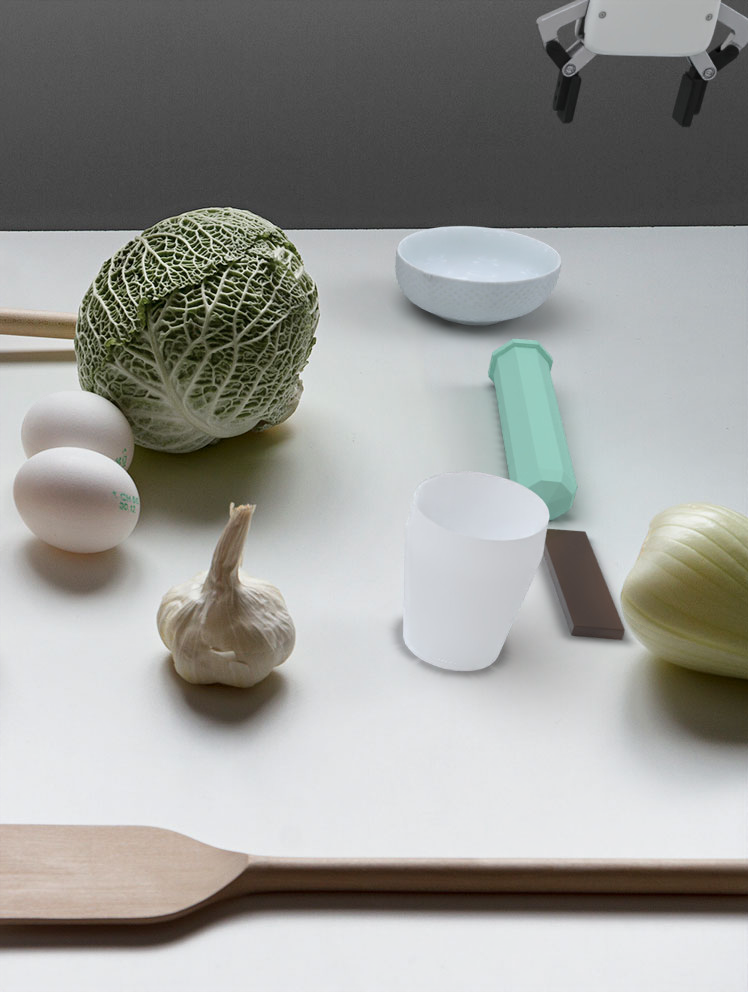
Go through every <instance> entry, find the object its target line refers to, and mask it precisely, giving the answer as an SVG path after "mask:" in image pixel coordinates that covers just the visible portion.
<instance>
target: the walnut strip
mask: <svg viewBox="0 0 748 992" xmlns="http://www.w3.org/2000/svg"><path fill="white" fill-rule="evenodd" d="M543 557H544V560H545V563H546V566H547V568H548V571H549V574H550V577H551V580H552V582H553V583H552V584H553V586H554V589H555V592H556V595H557V598H558V600H559V602H560V603H559V604H560V606H561V609H562V612H563V615H564V618H565V621H566V624H567V627H568V630H569V633H570V635H571V637H580V638H592V639H603V640H605V639H607V640H617V641H622V640H623V638H624V634H625V631H626V630H625V627H624V624H623V621H622V620H621V617H620V614H619V612H618V609H617V607H616V604H615V602H614V600H613V597H612V594H611V592H610V589H609V587H608V584H607V582H606V579H605V576H604V574H603V571H602V570H601V566H600V564H599V561H598V559H597V557H596V555H595V552H594V549H593V547H592V544H591V542H590V539H589V536H588V534H587V532H586V531H584V530H574V529H572V530H571V529H570V530H569V529H559V528H547V532H546V538H545V544H544V552H543Z"/></svg>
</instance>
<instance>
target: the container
mask: <svg viewBox="0 0 748 992" xmlns="http://www.w3.org/2000/svg"><path fill="white" fill-rule="evenodd" d="M553 359H554V358H553V356H552V355H551V354H550V353H549V352H548V350H546V348H545V347H544V346H543V345H542V343H540V341H539V340H536V339H535V340H533V339H523V338H522V339H521V338H512V339H510V340H508V341H507V342H505V343H503V344H502V345H501V346H499V347H498V348H496V349H494V350H493V351H492V352H491V357H490V360H489V361H490V362H489V366H488V370H487V376H488V378H489V379H490V380H491V382H492V383H494V387H495V394H496V399H497V400H496V401H497V407H498V414H499V421H500V426H501V432H502V439H503V445H504V451H505V457H506V464H507V471H508V477H509V480H511V481H514V482H516V483H518V484H520V485H523V486H524V487H526V488H528V489H530V490H531V491H533V492H534V493H535V494H537V495H538V496H539V497H540V498H541V499H542V500H543V501H544V503H545V504H546V506H547V508H548V510H549V521H553V520H555V519H556V518H558V517H560V516H562V515H563V514H565V513H567V512H570V510H571V509H572V508H573V504H574V501H575V497H576V494H577V490H578V483H577V479H576V473H575V471H574V466H573V462H572V458H571V454H570V450H569V449H570V448H569V445H568V442H567V436H566V434H565V429H564V424H563V420H562V415H561V412H560V407H559V403H558V398H557V394H556V390H555V386H554V382H553V377H552V374H551V372H552V367H553V364H554V360H553Z"/></svg>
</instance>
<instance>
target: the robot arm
mask: <svg viewBox="0 0 748 992" xmlns="http://www.w3.org/2000/svg"><path fill="white" fill-rule="evenodd" d="M717 21H718V22H719V23H721V24H723V25H724V26H726V27H728V28H729V30H730V33H729V34H728V36H727V37H726V39H725V40H724V41H723V42H721V43H720V44H719V45H717V46H716V47H715V48H713V49H712V50H710V52H707V51H706V50H707V49H708V48H709V46H710V44H711V42H712V40H713V36H714V33H715V30H716V26H717ZM573 22H575V27H574V36H575V38H576V41H575V42H573V44H571V45H570V46H569V47H568V48H567V49H565V48H564V47H563V45H561V43H560V40H559V34H558V32H559V30H560V28H561V27H564V26H566V25H568V24H571V23H573ZM535 26H536V30H537V33H538V36H539V38H540V41H541V44H542V49H543V50H544V52H545V53H546V55H547V56H548V57H549V58H550V59H551V61H552V62H553V63H554V64H555V66H556V67H557V68H558V69H559V72H558V76H557V80H556V85H555V89H554V95H553V100H552V110H553V111H554V112H556V116H557V117H558V119H559V120H560V122H561V123H562V124H563V125H565V124H567V125H569V124H570V123H573V120H574V116H575V112H576V108H577V104H578V99H579V94H580V89H581V85H582V77H581V76H580V75H579V74H580V70H581V69H583V68H584V67H585V66H586V65H587V64H588V63H589V62H590V61H592V59H593V58H595V57H596V56H597V55H603V56H607V55H608V56H630V57H631V56H632V57H675V58H676V57H678V58H680V57H684V58H685V60H686V61H687V63H688V64H689V68H688V70H686V71H685V72H684V73H683V74H682V76H681V80H680V84H679V87H678V91H677V94H676V99H675V103H674V106H673V110H672V113H671V118H673V120H674V121H675V122H676V123H677V124H678V125H679V126H681V128H690V127H691V125H692V122H693V118H694V116H698V115H699V114H700V112H701V109H702V105H703V101H704V98H705V94H706V90H707V86H708V83H709V81H711V80H713V79H714V78H715V77H716V76H717V73H718V72H719V71H721V70H722V69H724V68H725V67H726V66H728V65H729V64H731V63H732V62H733V61H735V60H736V59H737V58H738V56H739V55H740V51H742V49H744V48H745V47H746V46H747V44H748V17H746V16H744V15H743V14H742V13H740V12H738V11H736V10H735V9H733V8H732V7H730V6H728V5H727V4H725V3H723V2H722V0H574V1H571V2H570V3H566V4H564V5H562V6H560V7H558V8H556V9H554V10H551V11H549V12H547V13H545V14H543V15H541V16H539V17H537V19H536V21H535Z"/></svg>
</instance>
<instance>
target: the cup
mask: <svg viewBox="0 0 748 992" xmlns="http://www.w3.org/2000/svg"><path fill="white" fill-rule="evenodd" d="M549 521H550V520H549V510H548V508H547V506H546V504H545V503H544V501H543V500H542V499H541V498H540V497H539V496H538V495H537V494H535V493H534V492H533V491H531V490H530V489H528V488H526V487H524V486H523V485H520V484H518V483H516V482H514V481H511V480H510V479H508V478H505V477H502V476H498V475H494V474H490V473H485V472H476V471H451V472H443V473H439V474H436V475H433V476H430V477H428V478H426V479H424V480H423V481H422V482H420V483H419V484H418V486H417V487H416V489H415V491H414V494H413V499H412V503H411V507H410V509H409V514H408V518H407V521H406V524H405V528H404V544H403V545H404V547H403V549H404V550H403V611H402V612H403V614H402V615H403V617H402V619H403V620H402V621H403V622H402V637H403V641H404V643H405V645H406V647H407V648H408V650H410V652H411V653H412V654H413V655H414V656H416V657H417V658H418V659H420V660H422V661H424V662H425V663H427V664H430V665H431V666H434V667H436V668H440V669H444V670H448V671H454V672H474V671H478V670H482V669H485V668H487V667H489V666H491V665H492V664H494V663H495V662H496V661H497V659H498V657H499V655H500V654H501V651H502V649H503V646H504V644H505V642H506V640H507V638H508V636H509V633H510V631H511V629H512V627H513V625H514V622H515V620H516V618H517V616H518V613H519V611H520V609H521V608H522V604H523V603H524V601H525V598H526V596H527V594H528V592H529V589H530V587H531V585H532V584H533V581H534V578H535V576H536V575H537V572H538V570H539V567H540V565H541V563H542V560H543V557H544V554H543V552H544V544H545V538H546V532H547V529H548V527H549ZM418 649H419V650H418ZM421 651H422V652H421ZM426 654H427V655H426ZM428 655H429V656H428ZM433 657H434V658H433ZM435 658H436V659H435ZM438 659H440V660H438ZM441 660H444V661H441ZM445 661H447V662H445ZM449 662H450V663H449ZM451 662H452V663H451ZM455 663H456V664H455Z"/></svg>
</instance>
